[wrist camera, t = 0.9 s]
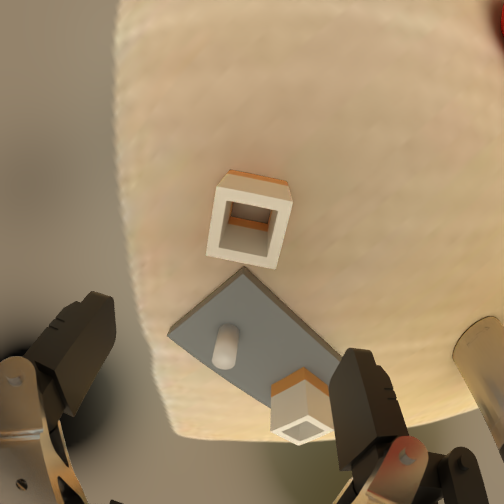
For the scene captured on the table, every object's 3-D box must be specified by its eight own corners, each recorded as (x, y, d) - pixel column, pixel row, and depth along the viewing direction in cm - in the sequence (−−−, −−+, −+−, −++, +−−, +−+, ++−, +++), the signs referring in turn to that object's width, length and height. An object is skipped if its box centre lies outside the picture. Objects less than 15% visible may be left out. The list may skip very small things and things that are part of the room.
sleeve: (286, 181, 25) (293, 201, 19) (274, 233, 27) (275, 269, 21) (230, 169, 25) (216, 186, 19) (220, 222, 27) (205, 255, 21)
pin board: (354, 368, 34) (368, 421, 26) (282, 407, 38) (283, 457, 30) (244, 266, 29) (234, 320, 21) (170, 327, 33) (147, 381, 25)
